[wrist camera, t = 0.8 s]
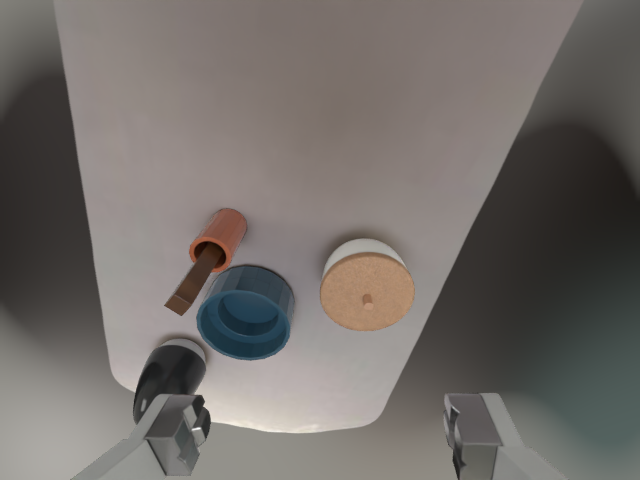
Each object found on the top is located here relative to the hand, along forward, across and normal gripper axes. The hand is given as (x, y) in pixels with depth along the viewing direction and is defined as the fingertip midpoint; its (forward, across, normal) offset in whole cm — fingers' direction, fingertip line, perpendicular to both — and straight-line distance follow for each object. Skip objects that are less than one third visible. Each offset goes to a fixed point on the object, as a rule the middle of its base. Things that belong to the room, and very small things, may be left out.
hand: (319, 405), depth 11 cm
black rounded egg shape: (+37, +33, +31) cm, 59 cm away
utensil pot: (+36, +18, +6) cm, 40 cm away
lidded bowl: (+38, -1, +15) cm, 40 cm away
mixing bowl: (+37, +18, +20) cm, 46 cm away
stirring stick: (+35, +18, +6) cm, 40 cm away
